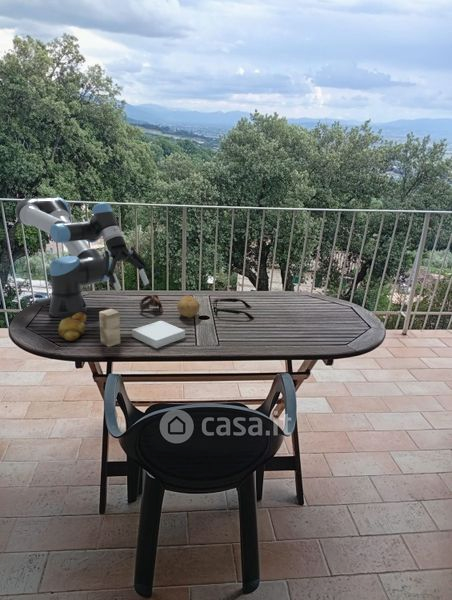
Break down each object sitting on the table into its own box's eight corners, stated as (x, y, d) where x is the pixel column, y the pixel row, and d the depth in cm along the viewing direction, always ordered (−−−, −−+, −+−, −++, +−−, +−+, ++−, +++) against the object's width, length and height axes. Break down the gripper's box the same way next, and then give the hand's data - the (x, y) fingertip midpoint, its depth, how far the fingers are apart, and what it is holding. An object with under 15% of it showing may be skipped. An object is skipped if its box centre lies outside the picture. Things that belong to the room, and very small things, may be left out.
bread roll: (81, 343, 153) (79, 322, 151) (53, 343, 152) (51, 322, 150) (88, 329, 166) (87, 310, 163) (62, 329, 165) (61, 310, 162)
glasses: (213, 308, 198) (212, 298, 197) (250, 307, 199) (250, 297, 198) (213, 321, 183) (213, 310, 181) (254, 320, 183) (254, 309, 182)
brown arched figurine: (162, 316, 184) (152, 301, 180) (144, 323, 187) (134, 308, 183) (167, 301, 194) (158, 287, 190) (150, 307, 197) (141, 294, 193)
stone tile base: (132, 336, 160) (132, 329, 160) (161, 327, 171) (161, 320, 170) (156, 348, 152) (156, 340, 151) (184, 337, 162) (184, 330, 161)
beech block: (100, 342, 154) (99, 311, 151) (112, 338, 158) (111, 308, 154) (108, 346, 151) (107, 315, 148) (120, 342, 155) (119, 312, 151)
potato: (176, 322, 177) (176, 303, 174) (177, 310, 190) (177, 293, 188) (199, 322, 178) (200, 304, 175) (199, 310, 191) (199, 293, 188)
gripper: (90, 238, 160) (110, 289, 157) (143, 232, 178) (162, 278, 176) (82, 246, 165) (102, 296, 163) (134, 240, 183) (152, 285, 181)
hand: (133, 287), depth 169 cm, fingers open, 13 cm apart
